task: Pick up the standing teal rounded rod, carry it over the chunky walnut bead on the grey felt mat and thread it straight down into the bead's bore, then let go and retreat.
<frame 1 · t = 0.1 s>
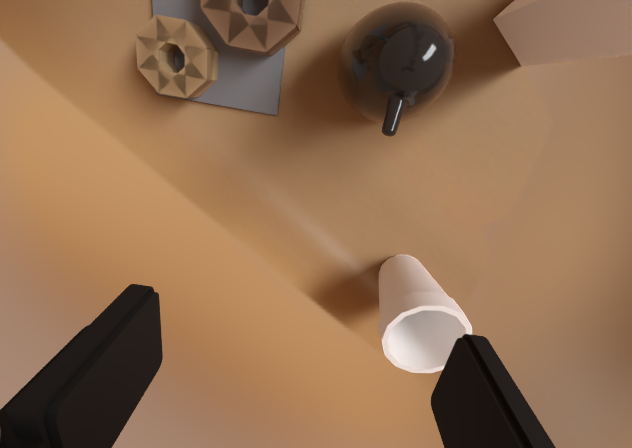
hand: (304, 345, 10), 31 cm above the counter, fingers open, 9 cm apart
pump dispenser: (382, 71, 35), on the counter
oak bead: (186, 60, 34), resting on mat
bead: (259, 3, 32), resting on mat
milk: (532, 21, 32), on the counter
foam cup: (400, 272, 45), on the counter
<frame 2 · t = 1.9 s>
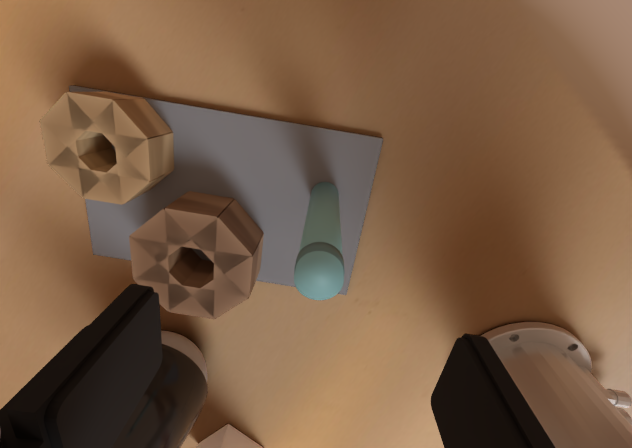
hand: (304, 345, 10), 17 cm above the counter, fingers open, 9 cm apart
pump dispenser: (172, 351, 33), on the counter
oak bead: (128, 143, 24), resting on mat
bead: (210, 243, 27), resting on mat
mat: (225, 200, 26), on the counter
teal rounded rod: (324, 195, 25), resting on mat
milk: (231, 443, 39), on the counter
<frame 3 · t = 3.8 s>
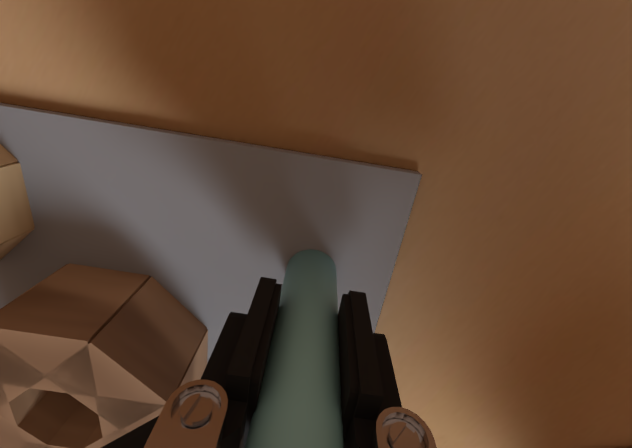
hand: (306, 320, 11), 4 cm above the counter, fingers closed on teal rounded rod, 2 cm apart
bead: (119, 343, 16), resting on mat
mat: (138, 275, 15), on the counter
teal rounded rod: (311, 271, 14), resting on mat, touching gripper
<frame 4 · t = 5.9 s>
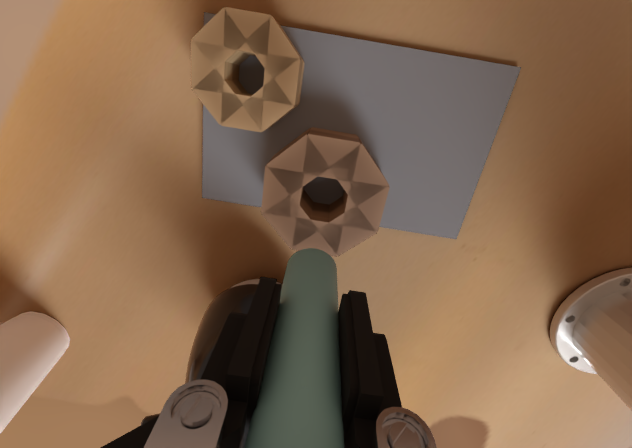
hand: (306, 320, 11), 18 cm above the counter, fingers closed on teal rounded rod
pump dispenser: (265, 303, 33), on the counter
oak bead: (256, 75, 24), resting on mat
bead: (324, 184, 27), resting on mat
mat: (345, 138, 26), on the counter
teal rounded rod: (311, 270, 14), point 15 cm above the counter, touching gripper
foam cup: (43, 332, 36), on the counter
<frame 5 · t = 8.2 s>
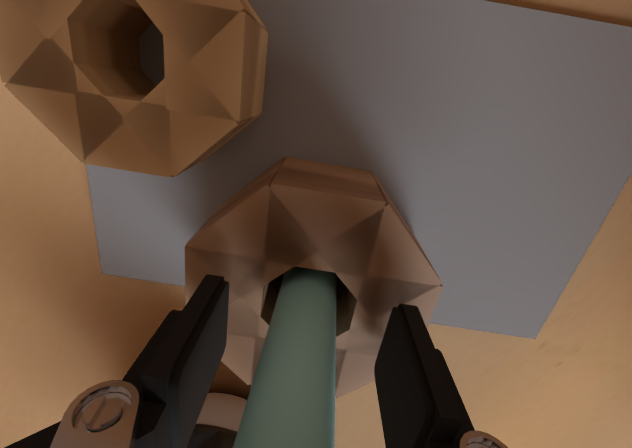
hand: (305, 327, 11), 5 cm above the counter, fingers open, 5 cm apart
pump dispenser: (224, 417, 21), on the counter
oak bead: (174, 59, 12), resting on mat
bead: (312, 254, 15), resting on mat
mat: (348, 175, 14), on the counter
teal rounded rod: (314, 254, 15), point 1 cm above the counter, touching mat
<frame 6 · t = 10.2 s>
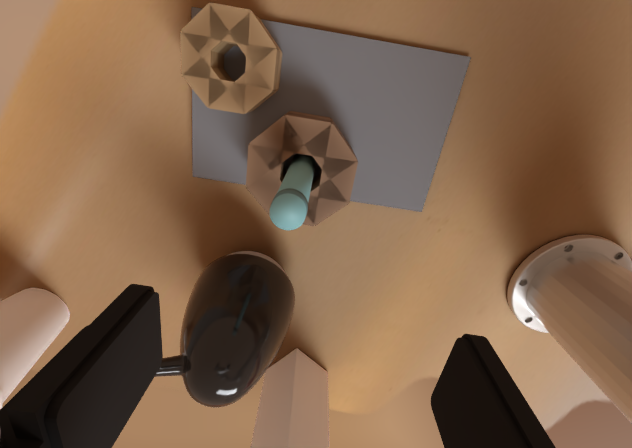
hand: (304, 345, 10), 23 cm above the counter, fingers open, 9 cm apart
pump dispenser: (252, 275, 36), on the counter
oak bead: (239, 64, 26), resting on mat
bead: (303, 163, 30), resting on mat
mat: (320, 121, 29), on the counter
teal rounded rod: (304, 162, 30), point 1 cm above the counter, touching mat
milk: (296, 369, 42), on the counter
foam cup: (44, 307, 38), on the counter
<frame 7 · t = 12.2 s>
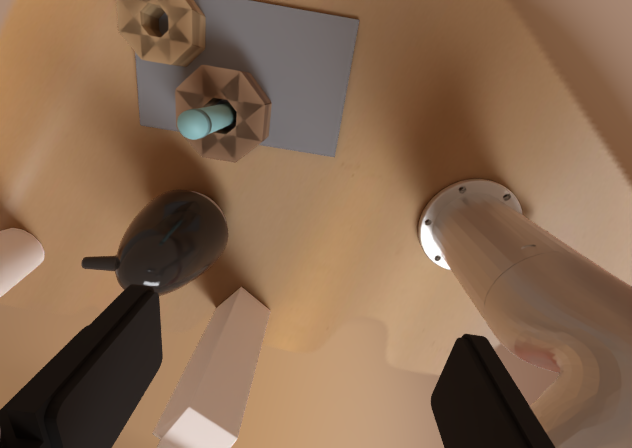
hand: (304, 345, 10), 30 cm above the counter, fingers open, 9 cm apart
pump dispenser: (198, 217, 42), on the counter
oak bead: (171, 27, 32), resting on mat
bead: (230, 113, 36), resting on mat
mat: (242, 76, 34), on the counter
teal rounded rod: (231, 112, 36), point 1 cm above the counter, touching mat
milk: (243, 308, 48), on the counter
foam cup: (23, 247, 45), on the counter
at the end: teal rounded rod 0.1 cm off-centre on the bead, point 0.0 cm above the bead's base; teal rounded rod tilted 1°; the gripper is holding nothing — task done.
